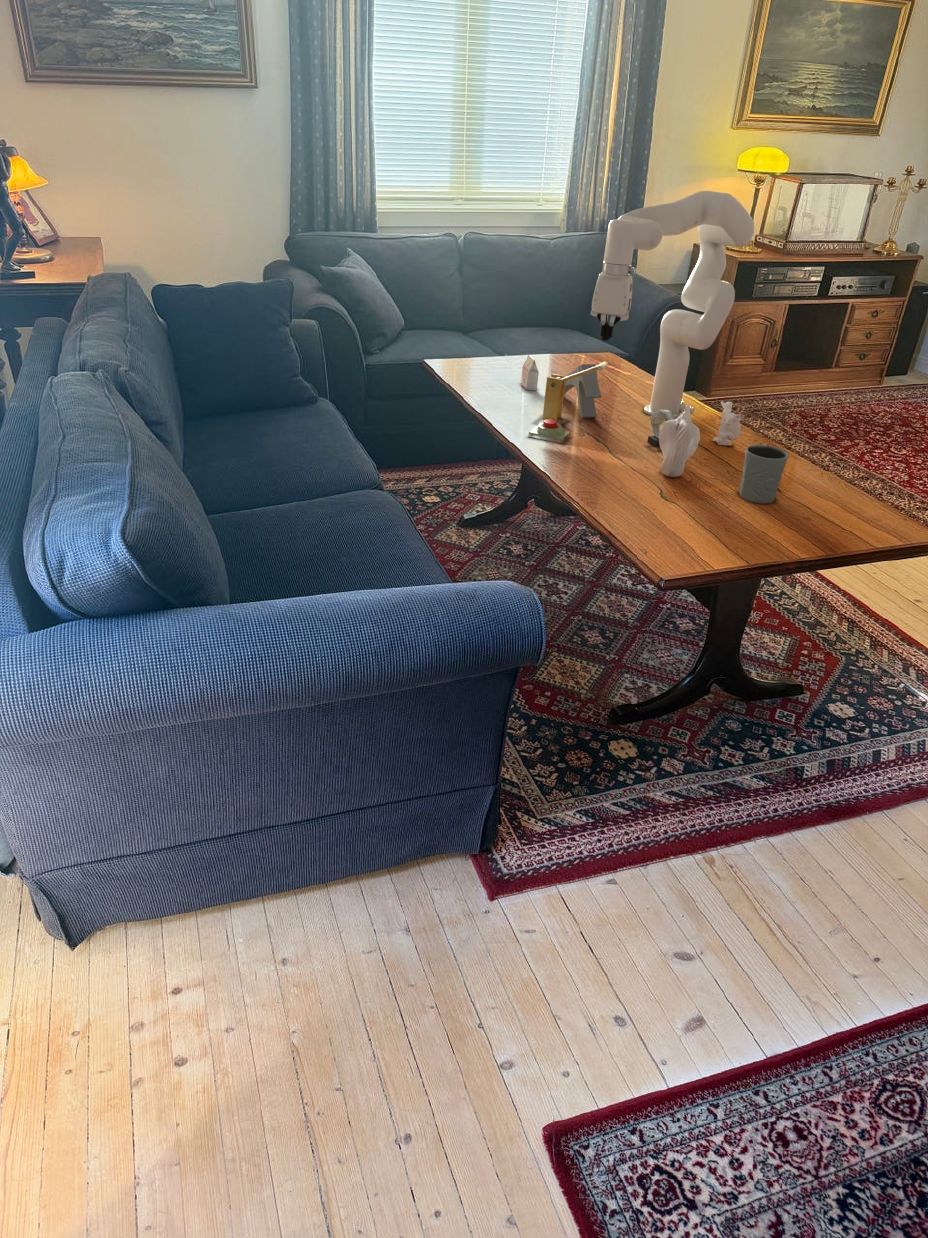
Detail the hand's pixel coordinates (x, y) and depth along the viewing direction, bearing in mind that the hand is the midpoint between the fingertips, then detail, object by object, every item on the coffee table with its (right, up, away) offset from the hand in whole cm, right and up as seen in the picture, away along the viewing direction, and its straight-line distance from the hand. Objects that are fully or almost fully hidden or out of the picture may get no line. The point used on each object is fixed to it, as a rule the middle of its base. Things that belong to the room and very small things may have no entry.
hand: (605, 339), depth 235 cm
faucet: (-6, -12, +31) cm, 34 cm away
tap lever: (-6, -9, +8) cm, 14 cm away
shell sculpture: (+15, -41, -14) cm, 46 cm away
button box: (-16, -26, +6) cm, 31 cm away
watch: (+16, -30, +4) cm, 34 cm away
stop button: (-15, -24, +4) cm, 29 cm away
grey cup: (+34, -48, -23) cm, 63 cm away
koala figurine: (+36, -27, +11) cm, 47 cm away
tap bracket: (-13, -19, +18) cm, 30 cm away
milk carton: (-18, 0, +49) cm, 52 cm away
